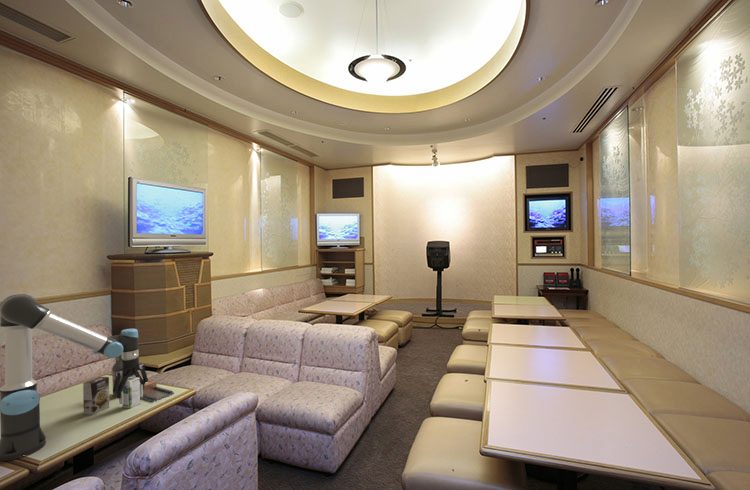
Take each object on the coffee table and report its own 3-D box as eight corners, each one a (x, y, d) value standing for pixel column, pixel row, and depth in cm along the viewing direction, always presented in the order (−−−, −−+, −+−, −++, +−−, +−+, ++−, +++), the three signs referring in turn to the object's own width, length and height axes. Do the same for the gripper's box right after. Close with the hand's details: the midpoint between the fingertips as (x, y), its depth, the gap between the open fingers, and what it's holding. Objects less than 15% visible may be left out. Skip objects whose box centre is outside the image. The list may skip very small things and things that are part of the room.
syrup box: (122, 407, 185) (121, 380, 185) (132, 402, 190) (132, 376, 190) (130, 408, 183) (129, 381, 183) (140, 403, 189) (140, 377, 189)
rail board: (152, 402, 190) (152, 393, 190) (133, 396, 198) (133, 387, 198) (174, 393, 200) (173, 385, 200) (155, 388, 209) (155, 380, 209)
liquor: (119, 398, 196) (117, 345, 196) (111, 395, 201) (109, 343, 201) (136, 392, 204) (135, 341, 204) (128, 389, 209) (127, 339, 209)
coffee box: (93, 415, 177) (92, 383, 177) (83, 414, 178) (82, 382, 178) (110, 406, 186) (109, 376, 186) (100, 406, 187) (99, 376, 187)
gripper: (111, 365, 175) (112, 410, 175) (155, 353, 195) (156, 393, 195) (103, 363, 179) (104, 407, 179) (147, 351, 198) (148, 390, 198)
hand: (131, 399), depth 187 cm, fingers open, 9 cm apart
